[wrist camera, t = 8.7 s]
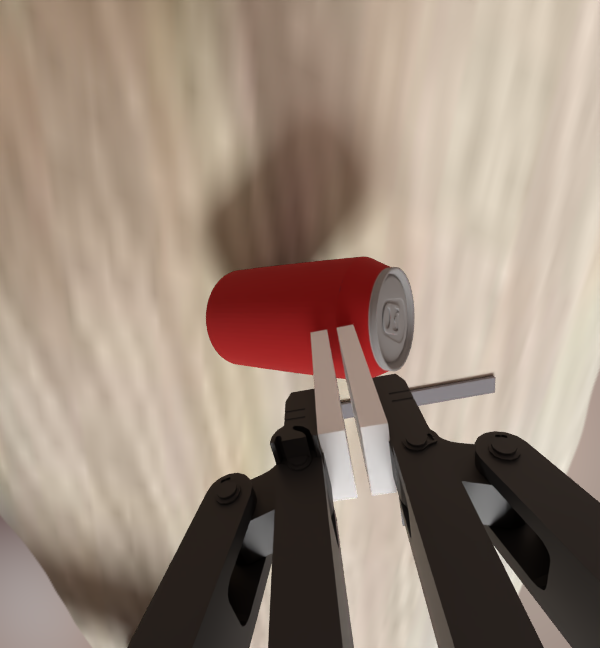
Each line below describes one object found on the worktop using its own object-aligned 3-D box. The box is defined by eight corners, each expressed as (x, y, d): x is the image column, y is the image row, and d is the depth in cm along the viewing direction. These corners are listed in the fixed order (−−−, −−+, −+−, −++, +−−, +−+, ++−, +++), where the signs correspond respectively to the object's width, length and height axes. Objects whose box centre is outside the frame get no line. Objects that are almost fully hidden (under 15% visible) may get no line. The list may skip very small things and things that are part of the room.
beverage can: (265, 363, 27) (415, 380, 20) (193, 365, 22) (366, 391, 15) (270, 279, 27) (420, 267, 20) (201, 261, 22) (373, 236, 15)
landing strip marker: (298, 424, 32) (298, 426, 32) (295, 410, 31) (295, 413, 31) (493, 390, 31) (494, 392, 30) (493, 375, 30) (495, 377, 30)
